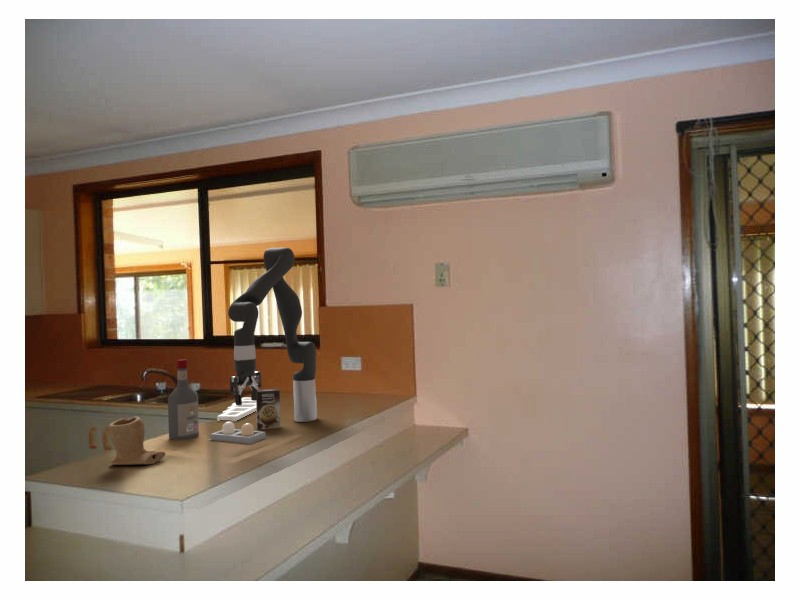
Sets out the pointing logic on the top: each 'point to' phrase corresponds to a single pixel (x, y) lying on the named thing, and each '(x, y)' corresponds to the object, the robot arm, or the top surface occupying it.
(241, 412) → the holder
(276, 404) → the coffee box
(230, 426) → the cream egg
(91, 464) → the top surface
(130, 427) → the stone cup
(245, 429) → the brown egg
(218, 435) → the egg carton
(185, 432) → the liquor
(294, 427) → the top surface
